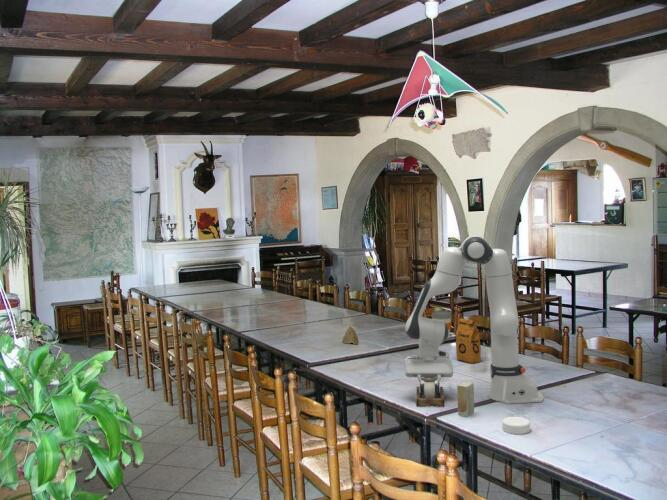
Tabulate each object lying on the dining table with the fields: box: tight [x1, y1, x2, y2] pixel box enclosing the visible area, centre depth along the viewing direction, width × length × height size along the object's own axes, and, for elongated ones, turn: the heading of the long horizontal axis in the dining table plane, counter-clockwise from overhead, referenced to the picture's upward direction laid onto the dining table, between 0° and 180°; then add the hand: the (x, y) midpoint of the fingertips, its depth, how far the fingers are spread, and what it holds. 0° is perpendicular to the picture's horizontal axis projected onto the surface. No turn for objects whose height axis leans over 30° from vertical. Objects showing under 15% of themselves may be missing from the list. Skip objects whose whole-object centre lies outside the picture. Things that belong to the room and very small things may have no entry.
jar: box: [422, 377, 436, 399], centre depth 274 cm, size 5×5×8 cm
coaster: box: [501, 416, 531, 435], centre depth 240 cm, size 10×10×4 cm
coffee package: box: [455, 318, 482, 364], centre depth 340 cm, size 10×12×22 cm
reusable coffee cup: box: [430, 310, 453, 338], centre depth 403 cm, size 13×13×15 cm
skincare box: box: [456, 381, 475, 417], centre depth 259 cm, size 6×4×12 cm
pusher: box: [419, 377, 440, 395], centre depth 288 cm, size 8×5×7 cm, turn 82°
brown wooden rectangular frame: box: [415, 386, 445, 408], centre depth 279 cm, size 11×18×3 cm, turn 172°
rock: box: [341, 326, 359, 345], centre depth 392 cm, size 11×9×10 cm
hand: (429, 385), depth 274 cm, fingers closed on jar, 5 cm apart
